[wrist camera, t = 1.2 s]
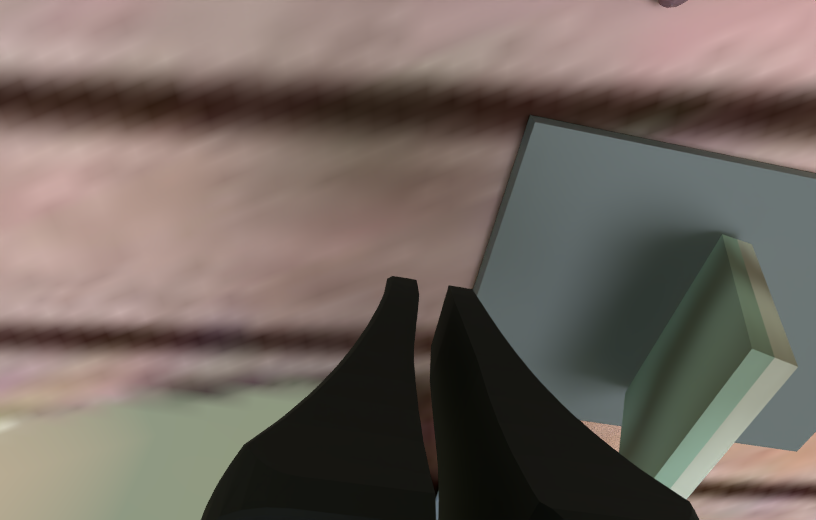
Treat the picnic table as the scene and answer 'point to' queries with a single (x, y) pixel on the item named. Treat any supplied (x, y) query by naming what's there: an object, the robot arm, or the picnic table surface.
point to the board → (641, 262)
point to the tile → (707, 371)
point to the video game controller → (671, 3)
